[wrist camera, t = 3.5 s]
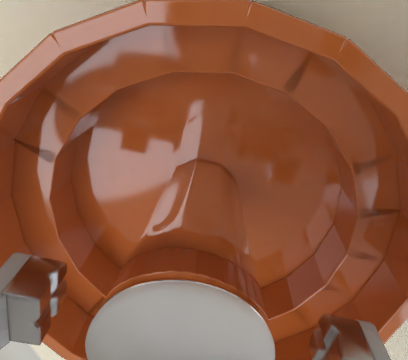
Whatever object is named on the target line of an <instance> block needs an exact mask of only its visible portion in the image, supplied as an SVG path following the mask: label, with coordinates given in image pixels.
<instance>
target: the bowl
mask: <svg viewBox="0 0 408 360" xmlns="http://www.w3.org/2000/svg"><path fill="white" fill-rule="evenodd" d="M197 160H198V161H203V162H208V163H213V164H219V165H221V166H222V167H223V168H224V169H225V170H226V171H227V172H228V173H229V174H230V175H231V176H232V177H233V178H234V179H235V180H236V183H237V187H238V192H239V197H240V202H241V207H242V212H243V217H244V222H245V227H246V232H247V237H248V242H249V246H250V251H251V255H252V259H253V263H254V266H255V270H256V274H257V278H258V282H259V286H260V290H261V294H262V298H263V302H264V306H265V310H266V313H267V317H268V321H269V325H270V329H271V334H272V337H273V341H274V345H275V360H310V357H309V341H310V337H311V335H312V333H313V331H315V330H316V329H318V328H320V326H319V323H318V321H319V319H320V317H321V316H322V315H323V314H329V315H335V316H340V317H345V318H351V319H354V320H361V321H367V322H372V323H373V324H374V325H375V327H376V329H377V331H378V334H379V336H380V338H381V340H382V342H383V344H385V343H386V342H387V341H388V339H389V338H390V337H391V336H392V335H393V334H394V333H395V332H396V331H397V330H398V329H399V327H400V326H401V325H402V324H403V323H404V322H405V321H406V320H407V319H408V93H407V92H406V91H405V90H404V89H403V88H402V87H401V86H400V85H399V84H398V83H396V82H395V81H394V80H393V79H392V78H391V77H390V76H389V75H388V74H387V73H386V72H385V71H383V70H382V69H381V68H380V67H379V66H378V65H377V64H376V63H375V62H374V61H373V60H372V59H371V58H369V57H368V56H367V55H366V54H365V53H364V52H363V51H362V50H361V49H360V48H359V47H358V46H357V45H355V44H354V43H353V42H352V41H351V40H350V39H347V38H346V37H345V36H343V35H340V34H338V33H335V32H332V31H330V30H327V29H325V28H322V27H320V26H317V25H314V24H312V23H309V22H307V21H304V20H302V19H299V18H296V17H294V16H291V15H289V14H286V13H284V12H281V11H278V10H276V9H273V8H271V7H268V6H266V5H263V4H260V3H258V2H255V1H249V0H137V1H135V2H132V3H129V4H126V5H124V6H121V7H118V8H115V9H113V10H110V11H107V12H104V13H102V14H99V15H96V16H94V17H91V18H88V19H85V20H83V21H80V22H77V23H74V24H72V25H69V26H66V27H63V28H61V29H58V30H55V31H54V32H53V33H50V34H49V35H48V36H47V37H45V38H44V39H43V40H42V41H41V42H40V43H39V44H38V45H37V46H36V47H35V48H34V49H32V50H31V51H30V52H29V53H28V54H27V55H26V56H25V57H24V58H23V59H22V60H21V61H19V62H18V63H17V64H16V65H15V66H14V67H13V68H12V69H11V70H10V71H9V72H8V73H6V74H5V75H4V76H3V77H2V78H1V79H0V268H1V267H2V266H3V264H4V263H5V262H6V261H7V260H8V259H9V258H10V256H11V255H12V254H14V253H16V252H20V253H25V254H29V255H35V256H39V257H44V258H48V259H53V260H57V261H62V262H65V263H67V273H66V275H65V276H64V280H65V281H66V282H67V289H66V294H65V298H64V301H63V304H62V306H61V308H60V310H59V312H58V314H56V315H54V316H53V317H51V326H50V328H49V330H48V332H47V333H46V335H45V337H44V339H43V341H42V342H43V343H44V344H45V345H47V346H48V347H49V348H51V349H52V350H53V351H54V352H56V353H57V354H58V355H60V356H61V357H62V358H64V359H66V360H88V359H87V355H86V349H85V340H86V335H87V332H88V329H89V326H90V324H91V322H92V320H93V318H94V317H95V315H96V314H97V313H98V311H99V309H100V307H101V305H102V304H103V302H104V300H105V298H106V296H107V295H108V293H109V291H110V289H111V287H112V286H113V284H114V282H115V280H116V279H117V277H118V275H119V273H120V271H121V270H122V268H123V266H124V264H125V263H126V261H127V259H128V257H129V256H130V254H131V252H132V251H133V249H134V248H135V246H136V245H137V243H138V241H139V240H140V238H141V236H142V234H143V232H144V230H145V228H146V226H147V224H148V222H149V220H150V218H151V216H152V214H153V212H154V210H155V208H156V206H157V204H158V202H159V200H160V198H161V196H162V194H163V191H164V190H165V188H166V186H167V184H168V182H169V181H170V179H171V177H172V175H173V173H174V172H175V170H176V169H177V168H180V167H182V166H185V165H187V164H190V163H192V162H194V161H197Z"/></svg>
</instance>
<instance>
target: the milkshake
mask: <svg viewBox="0 0 408 360" xmlns="http://www.w3.org/2000/svg"><path fill="white" fill-rule="evenodd" d="M85 349H86V355H87V359H88V360H275V345H274V341H273V337H272V334H271V329H270V325H269V321H268V317H267V313H266V310H265V306H264V302H263V298H262V294H261V290H260V286H259V282H258V278H257V274H256V270H255V266H254V263H253V259H252V255H251V251H250V246H249V242H248V237H247V232H246V227H245V222H244V217H243V212H242V207H241V202H240V197H239V192H238V187H237V183H236V180H235V179H234V178H233V177H232V176H231V175H230V174H229V173H228V172H227V171H226V170H225V169H224V168H223V167H222V166H221V165H219V164H213V163H208V162H203V161H198V160H197V161H194V162H192V163H190V164H187V165H185V166H182V167H180V168H177V169H176V170H175V172H174V173H173V175H172V177H171V179H170V181H169V182H168V184H167V186H166V188H165V190H164V191H163V194H162V196H161V198H160V200H159V202H158V204H157V206H156V208H155V210H154V212H153V214H152V216H151V218H150V220H149V222H148V224H147V226H146V228H145V230H144V232H143V234H142V236H141V238H140V240H139V241H138V243H137V245H136V246H135V248H134V249H133V251H132V252H131V254H130V256H129V257H128V259H127V261H126V263H125V264H124V266H123V268H122V270H121V271H120V273H119V275H118V277H117V279H116V280H115V282H114V284H113V286H112V287H111V289H110V291H109V293H108V295H107V296H106V298H105V300H104V302H103V304H102V305H101V307H100V309H99V311H98V313H97V314H96V315H95V317H94V318H93V320H92V322H91V324H90V326H89V329H88V332H87V335H86V340H85Z"/></svg>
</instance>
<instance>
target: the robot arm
mask: <svg viewBox="0 0 408 360" xmlns="http://www.w3.org/2000/svg"><path fill="white" fill-rule="evenodd" d="M66 273H67V263H65V262H62V261H57V260H53V259H48V258H44V257H39V256H35V255H29V254H25V253H20V252H16V253H14V254H12V255H11V256H10V258H9V259H8V260H7V261H6V262H5V263H4V264H3V266H2V267H1V268H0V349H1V348H3V347H4V346H5V345H7V344H8V343H9V341H15V342H22V343H27V344H33V345H40V344H41V342H42V341H43V339H44V337H45V335H46V333H47V332H48V330H49V328H50V326H51V317H53V316H54V315H56V314H58V312H59V310H60V308H61V306H62V304H63V301H64V298H65V294H66V289H67V282H66V281H65V280H64V276H65V275H66ZM318 323H319V326H320V328H318V329H316V330H315V331H313V333H312V335H311V337H310V341H309V357H310V360H391V359H390V357H389V355H388V353H387V351H386V348H385V346H384V344H383V342H382V340H381V338H380V336H379V334H378V331H377V329H376V327H375V325H374V324H373V323H372V322H367V321H361V320H354V319H351V318H345V317H340V316H335V315H329V314H323V315H322V316H321V317H320V319H319V321H318Z"/></svg>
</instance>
